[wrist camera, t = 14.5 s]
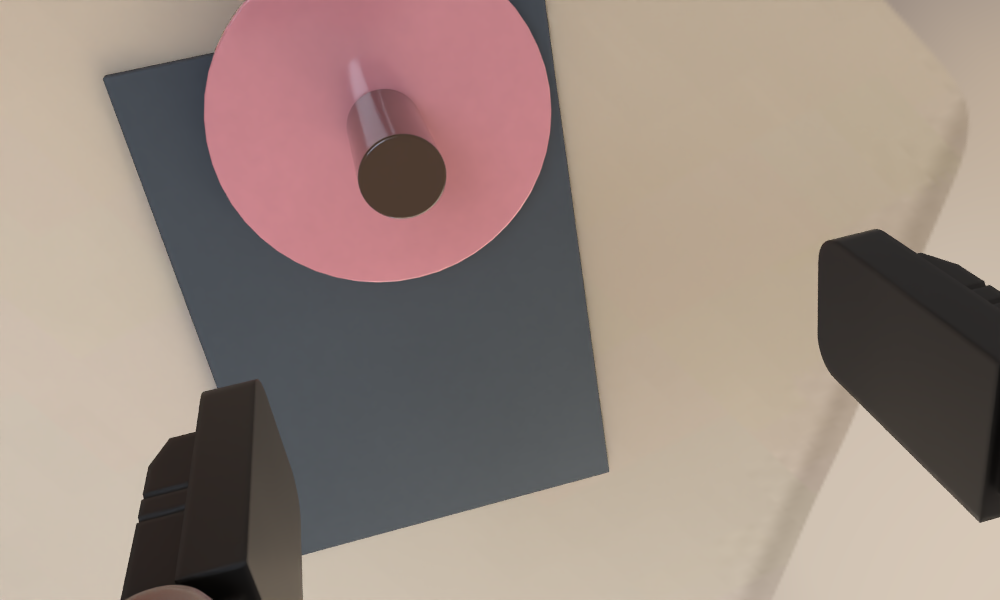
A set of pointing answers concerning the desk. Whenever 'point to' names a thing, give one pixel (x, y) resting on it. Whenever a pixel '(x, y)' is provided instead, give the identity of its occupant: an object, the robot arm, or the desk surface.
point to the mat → (383, 334)
